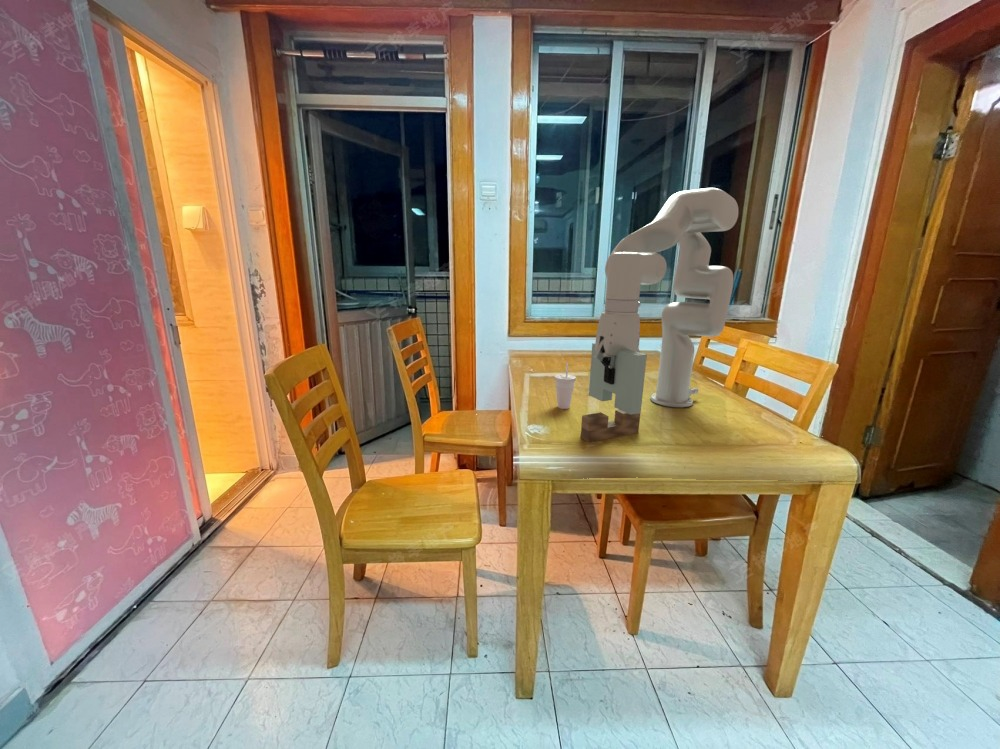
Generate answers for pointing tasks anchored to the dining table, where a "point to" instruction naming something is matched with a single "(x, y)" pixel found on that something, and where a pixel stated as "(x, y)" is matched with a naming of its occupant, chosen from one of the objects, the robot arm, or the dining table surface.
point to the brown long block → (608, 425)
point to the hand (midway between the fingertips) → (614, 381)
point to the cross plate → (620, 380)
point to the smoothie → (564, 389)
